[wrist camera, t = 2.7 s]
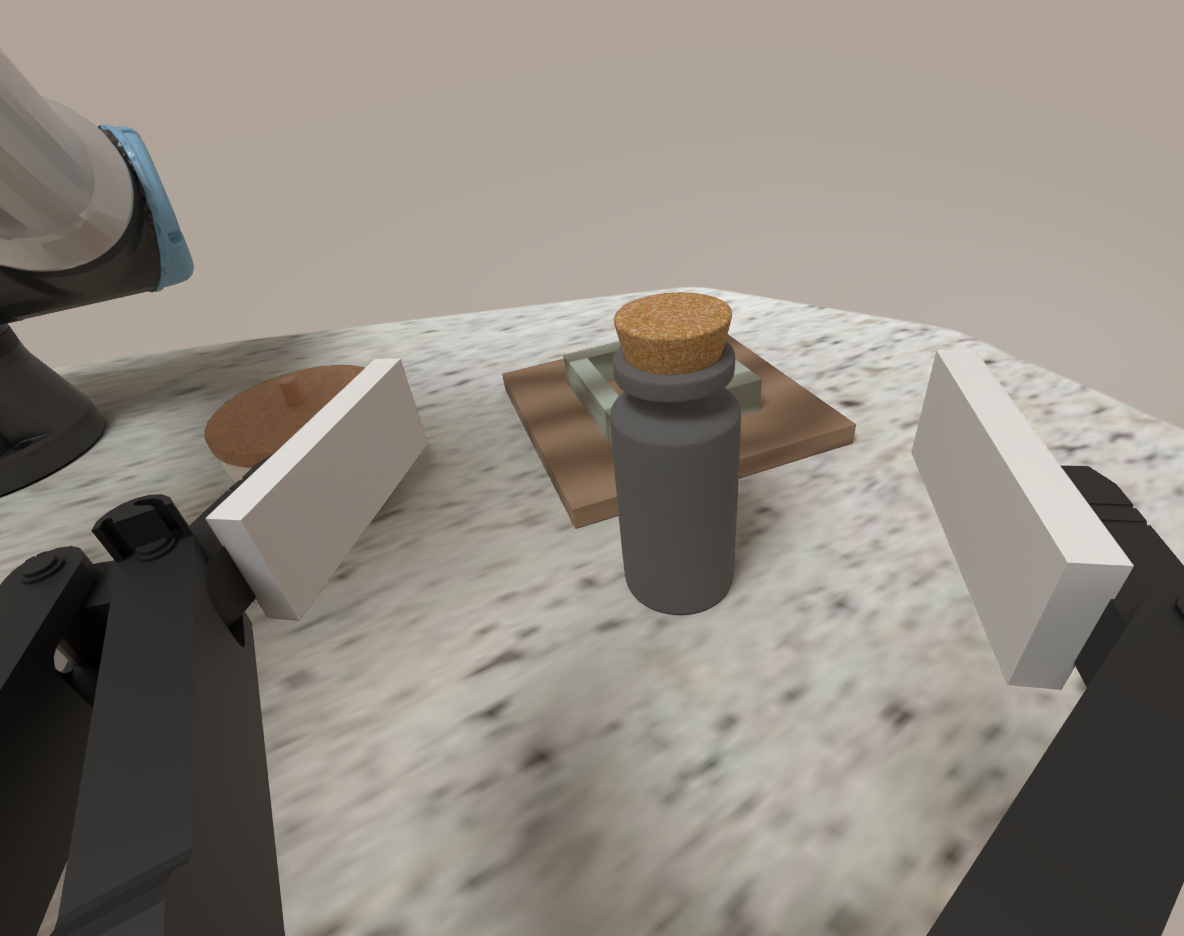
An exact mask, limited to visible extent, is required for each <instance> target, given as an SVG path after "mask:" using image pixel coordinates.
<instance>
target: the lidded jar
mask: <svg viewBox="0 0 1184 936" xmlns="http://www.w3.org/2000/svg"><path fill="white" fill-rule="evenodd" d="M364 369H365V368H364V367H359V366H351V365H331V366H321V367H315V368H309V369H304V370H300V371H295V372H292V373H288V374H285V375H282V376H279V377H276V378H273V379H270V380H268V381H265V382H263V383H260V384H258V385H256V386H254V387H252V388H250V389H248V390H246V391H244V392H242V393H241V394H239V395H237V396H235V397H234V398H232V399H231V400H229V401H228V402H226V403H225V404H224V405H223V406H222V407H220V408H219V409H218V410H217V411H216V412H215V413H214V414H213V415H212V417H211V418H210V420H209V421H208V423H207V426H206V428H205V440H206V442H207V444H208V446H209V448H210V450H211V451H212V453H213V454H214V455H215V456H216V457H217V458H218V459H219V461H220V462H221V464H222V466H223V468H224V469H225V471H226V472H227V474H228V476H229V477H230V479H231V480H232V481H233V483H234V484H235V483H236V482H237V481H238V480H242V477H243V476H244V475H245V474H246V473H247V472H248V471H249V470H250V469H251V468H252V467H253V466H254V465H256V464H257V463H258V462H260V461H261V460H263V459H265V458H266V457H268V456H270V455H272V454H273V453H275V452H277V451H278V450H279V449H280V448H281V447H282V446H283V445H284V444H285V443H286V442H287V441H288V440H289V439H290V438H291V437H293V436H294V435H295V434H296V433H297V432H298V431H299V430H300V429H301V428H302V427H303V426H304V425H305V424H306V423H307V422H308V421H310V420H311V419H312V418H313V417H314V416H315V415H316V414H317V413H318V412H319V411H320V410H321V409H322V408H323V407H324V406H325V405H327V404H328V403H329V402H330V401H331V400H332V399H333V398H334V397H335V396H336V395H337V394H338V393H339V392H340V391H341V390H343V389H344V388H345V387H346V386H347V385H348V384H349V383H350V382H351V381H352V380H353V379H354V378H355V377H356V376H357V375H358V374H360V373H361V372H362V371H363V370H364Z"/></svg>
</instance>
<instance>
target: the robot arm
mask: <svg viewBox="0 0 1184 936" xmlns="http://www.w3.org/2000/svg"><path fill="white" fill-rule="evenodd" d="M193 270H194V264H193V261H192V257H191V254H190V252H189V249H188V246H187V244H186V242H185V239H184V237H183V234H182V232H181V230H180V227H179V224H178V222H177V218H176V216H175V213H174V211H173V208H172V206H171V204H170V201H169V199H168V196H167V194H166V192H165V189H164V187H163V185H162V182H161V180H160V178H159V175H158V173H157V170H156V168H155V166H154V164H153V161H152V159H151V157H150V154H149V152H148V150H147V148H146V146H145V144H144V142H143V141H142V139H141V137H140V135H139V134H138V133H137V132H136V131H135V130H134V129H132V128H129V127H126V126H119V127H113V126H111V125H108V124H104V125H100V126H98V127H96V126H95V125H94V124H93V123H92V122H90V121H89V120H87V119H86V118H85V117H83V116H81V115H80V114H78V113H76V112H75V111H74V110H72V109H70V108H68V107H66V106H64V105H62V104H60V103H58V102H56V101H53V100H50V99H48V98H45V97H42V96H41V95H40V94H39V93H38V92H37V91H36V90H35V88H34V87H33V86H32V85H31V84H30V83H29V81H28V80H27V79H26V78H25V77H24V76H23V74H22V73H21V72H20V71H19V70H18V69H17V68H16V66H15V65H14V64H13V63H12V62H11V61H10V59H9V58H8V57H7V56H6V55H5V54H4V53H3V51H2V50H1V49H0V495H2V494H5V493H7V492H10V491H12V490H15V489H17V488H20V487H22V486H24V485H26V484H29V483H31V482H33V481H35V480H37V479H39V478H41V477H43V476H45V475H47V474H49V473H51V472H53V471H54V470H56V469H58V468H60V467H61V466H63V465H65V464H66V463H68V462H69V461H71V460H73V459H74V458H75V457H77V456H78V455H80V454H81V453H82V452H84V451H85V450H86V449H87V448H89V447H90V446H91V445H92V444H93V443H94V442H95V441H96V440H97V439H98V437H99V436H100V435H101V433H102V431H103V429H104V426H105V422H104V419H103V418H102V416H101V415H100V413H99V412H98V410H97V409H96V407H95V406H94V404H93V403H92V402H91V400H90V399H89V398H88V397H87V396H86V395H84V394H83V393H82V392H80V391H79V390H78V389H76V388H75V387H74V386H73V385H71V384H70V383H69V382H68V381H66V380H65V379H64V378H62V377H61V376H60V375H59V374H57V373H56V372H55V371H53V370H52V369H51V368H49V367H48V366H47V365H46V364H44V363H43V362H42V361H40V360H39V359H38V358H36V357H35V356H34V355H33V354H31V353H30V352H29V351H28V350H27V349H26V348H25V347H24V346H23V344H22V343H21V342H20V340H19V339H18V338H17V336H16V335H15V333H14V332H13V330H12V329H11V327H10V326H9V325H8V323H11V322H16V321H21V320H24V319H27V318H32V317H36V316H41V315H45V314H50V313H54V312H58V311H63V310H68V309H72V308H76V307H80V306H85V305H90V304H94V303H99V302H103V301H107V300H112V299H117V298H121V297H125V296H130V295H134V294H138V293H143V292H148V291H149V292H158V291H161V290H162V289H163V288H164V287H168V286H171V285H174V284H178V283H181V282H184V281H186V280H188V279H189V278H190V277H191V275H192V273H193ZM427 444H428V443H427V440H426V437H425V434H424V431H423V428H422V424H421V421H420V418H419V415H418V412H417V409H416V406H415V402H414V399H413V396H412V393H411V390H410V387H409V383H408V380H407V377H406V374H405V371H404V368H403V365H402V361H401V359H374V360H373V361H372V362H371V363H370V364H369V365H368V366H367V367H366V368H365V369H364V370H363V371H362V372H361V373H360V374H358V375H357V376H356V377H355V378H354V379H353V380H352V381H351V382H350V383H349V384H348V385H347V386H346V387H345V388H344V389H343V390H341V391H340V392H339V393H338V394H337V395H336V396H335V397H334V398H333V399H332V400H331V401H330V402H329V403H328V404H327V405H325V406H324V407H323V408H322V409H321V410H320V411H319V412H318V413H317V414H316V415H315V416H314V417H313V418H312V419H311V420H310V421H308V422H307V423H306V424H305V425H304V426H303V427H302V428H301V429H300V430H299V431H298V432H297V433H296V434H295V435H294V436H293V437H291V438H290V439H289V440H288V441H287V442H286V443H285V444H284V445H283V446H282V447H281V448H280V449H279V450H278V451H277V452H275V453H273V454H272V455H270V456H268V457H266V458H265V459H263V460H261V461H260V462H258V463H257V464H256V465H254V466H253V467H252V468H251V469H250V470H249V471H248V472H247V473H246V474H245V475H244V476H243V477H242V480H238V481H237V482H236V483H235V484H234V485H233V486H232V487H231V488H230V491H226V492H225V493H224V494H223V495H222V496H221V497H220V498H219V499H218V500H217V501H216V502H215V503H213V504H212V505H211V506H210V507H209V508H208V509H207V510H206V511H205V512H204V513H203V514H202V515H200V516H199V517H198V518H197V519H196V520H195V521H194V522H193V523H192V524H191V525H190V526H188V524H187V523H186V521H185V520H184V518H183V517H182V515H181V514H180V512H179V511H178V509H177V508H176V506H175V504H174V503H173V501H172V500H171V498H170V497H168V496H165V495H162V494H159V495H147V496H143V497H139V498H135V499H133V500H130V501H128V502H126V503H123V504H121V505H119V506H117V507H116V508H114V509H112V510H111V511H109V512H107V513H106V514H105V515H104V516H103V517H101V518H100V519H99V520H98V521H97V522H96V523H95V525H94V527H93V529H92V530H91V531H92V532H93V533H94V535H95V536H96V537H97V538H98V540H99V541H100V542H101V543H102V545H103V546H104V547H105V549H106V550H107V551H108V552H109V554H110V555H111V556H112V557H113V559H114V560H113V561H108V562H102V563H97V564H93V563H92V562H91V561H90V560H89V558H88V557H87V556H86V555H85V553H84V552H83V551H82V550H81V549H80V548H78V547H73V546H69V547H61V548H57V549H54V550H50V551H45V552H42V553H40V554H38V555H36V557H35V556H33V557H31V558H30V559H28V560H26V561H25V562H24V563H23V564H22V565H20V566H19V567H17V568H16V569H15V570H13V571H12V572H11V573H10V574H9V575H8V576H7V577H6V578H5V579H4V581H3V582H2V583H1V585H0V936H37V933H38V931H39V928H40V926H41V923H42V921H43V918H44V916H45V913H46V911H47V909H48V906H49V904H50V901H51V899H52V896H53V894H54V891H55V889H56V886H57V884H58V881H59V879H60V877H61V874H62V872H63V869H64V867H65V864H66V862H67V867H66V873H65V879H64V885H63V891H62V897H61V903H60V909H59V915H58V920H57V923H56V926H55V929H54V931H53V932H52V934H51V935H50V936H285V931H284V923H283V913H282V904H281V894H280V885H279V876H278V866H277V857H276V847H275V838H274V828H273V819H272V809H271V800H270V791H269V781H268V772H267V762H266V753H265V743H264V734H263V725H262V715H261V706H260V696H259V687H258V677H257V668H256V658H255V649H254V640H253V630H252V623H251V621H250V619H249V617H248V616H247V614H246V613H245V610H246V609H247V608H248V607H249V605H250V604H251V603H252V602H253V601H254V599H255V598H256V600H257V602H258V603H259V605H260V606H261V608H262V609H263V611H264V613H265V614H266V616H267V617H268V618H275V619H286V620H298V621H300V619H301V618H302V616H303V615H304V614H305V612H306V611H307V609H308V608H309V607H310V605H311V604H312V603H313V601H314V600H315V598H316V597H317V596H318V594H319V593H320V592H321V590H322V589H323V587H324V586H325V585H326V583H327V582H328V581H329V579H330V578H331V576H332V575H333V574H334V572H335V571H336V570H337V568H338V567H339V565H340V564H341V563H342V561H343V560H344V558H345V557H346V556H347V554H348V553H349V552H350V550H351V549H352V547H353V546H354V545H355V543H356V542H357V541H358V539H359V538H360V536H361V535H362V534H363V532H364V531H365V530H366V528H367V527H368V525H369V524H370V523H371V521H372V520H373V518H374V517H375V516H376V514H377V513H378V512H379V510H380V509H381V507H382V506H383V505H384V503H385V502H386V501H387V499H388V498H389V496H390V495H391V494H392V492H393V491H394V490H395V488H396V487H397V485H398V484H399V483H400V481H401V480H402V479H403V477H404V476H405V474H406V473H407V472H408V470H409V469H410V467H411V466H412V465H413V463H414V462H415V461H416V459H417V458H418V456H419V455H420V454H421V452H422V451H423V450H424V448H425V447H426V445H427ZM912 455H913V457H914V460H915V462H916V465H917V467H918V469H919V472H920V474H921V477H922V479H923V482H924V484H925V486H926V489H927V491H928V494H929V496H930V499H931V501H932V503H933V506H934V508H935V511H936V513H937V516H938V518H939V520H940V523H941V525H942V528H943V530H944V532H945V535H946V537H947V540H948V542H949V545H950V547H951V549H952V552H953V554H954V557H955V559H956V562H957V564H958V566H959V569H960V571H961V574H962V576H963V579H964V581H965V583H966V586H967V588H968V591H969V593H970V596H971V598H972V600H973V603H974V605H975V608H976V610H977V612H978V615H979V617H980V620H981V622H982V625H983V627H984V629H985V632H986V634H987V637H988V639H989V642H990V644H991V646H992V649H993V651H994V654H995V656H996V659H997V661H998V663H999V666H1000V668H1001V671H1002V673H1003V676H1004V678H1005V680H1006V683H1007V685H1014V686H1025V687H1036V688H1047V689H1058V690H1062V688H1063V686H1064V685H1065V683H1066V681H1067V679H1068V678H1069V676H1070V674H1071V673H1072V671H1073V669H1074V668H1075V666H1076V668H1077V670H1078V672H1079V674H1080V675H1081V677H1082V679H1083V681H1084V683H1085V685H1086V687H1087V689H1086V690H1085V692H1084V693H1083V695H1082V696H1081V698H1080V700H1079V701H1078V703H1077V704H1076V706H1075V707H1074V709H1073V710H1072V712H1071V713H1070V715H1069V717H1068V718H1067V720H1066V721H1065V723H1064V724H1063V726H1062V727H1061V729H1060V730H1059V732H1058V733H1057V735H1056V737H1055V738H1054V740H1053V741H1052V743H1051V744H1050V746H1049V747H1048V749H1047V750H1046V752H1045V754H1044V755H1043V757H1042V758H1041V760H1040V761H1039V763H1038V764H1037V766H1036V767H1035V769H1034V770H1033V772H1032V774H1031V775H1030V777H1029V778H1028V780H1027V781H1026V783H1025V784H1024V786H1023V787H1022V789H1021V791H1020V792H1019V794H1018V795H1017V797H1016V798H1015V800H1014V801H1013V803H1012V804H1011V806H1010V808H1009V809H1008V811H1007V812H1006V814H1005V815H1004V817H1003V818H1002V820H1001V821H1000V823H999V824H998V826H997V828H996V829H995V831H994V832H993V834H992V835H991V837H990V838H989V840H988V841H987V843H986V845H985V846H984V848H983V849H982V851H981V852H980V854H979V855H978V857H977V858H976V860H975V861H974V863H973V865H972V866H971V868H970V869H969V871H968V872H967V874H966V875H965V877H964V878H963V880H962V882H961V883H960V885H959V886H958V888H957V889H956V891H955V892H954V894H953V895H952V897H951V898H950V900H949V902H948V903H947V905H946V906H945V908H944V909H943V911H942V912H941V914H940V915H939V917H938V919H937V920H936V922H935V923H934V925H933V926H932V928H931V929H930V931H929V932H928V934H927V935H926V936H1161V935H1162V932H1163V930H1164V928H1165V925H1166V923H1167V921H1168V918H1169V916H1170V914H1171V911H1172V909H1173V907H1174V904H1175V902H1176V899H1177V897H1178V895H1179V892H1180V890H1181V887H1182V885H1183V883H1184V565H1183V564H1182V563H1181V562H1180V561H1179V559H1178V558H1177V557H1176V556H1175V554H1174V553H1173V552H1172V551H1171V550H1170V548H1169V547H1168V546H1167V545H1166V544H1165V542H1164V541H1163V540H1162V539H1161V538H1160V536H1159V535H1158V534H1157V533H1156V532H1155V530H1154V529H1153V528H1152V527H1151V526H1150V525H1147V521H1146V519H1145V518H1144V517H1143V516H1142V515H1141V513H1140V512H1139V511H1138V510H1137V509H1136V508H1133V504H1132V502H1131V501H1130V500H1129V499H1128V498H1127V496H1126V495H1125V494H1124V493H1123V492H1122V490H1121V489H1120V488H1119V487H1118V486H1117V484H1115V483H1114V482H1112V481H1111V480H1109V479H1108V478H1106V477H1104V476H1103V475H1101V474H1100V473H1098V472H1097V471H1095V470H1093V469H1092V468H1090V467H1089V466H1060V465H1059V463H1058V462H1057V461H1056V459H1055V458H1054V457H1053V455H1052V454H1051V453H1050V451H1049V450H1048V448H1047V447H1046V446H1045V444H1044V443H1043V442H1042V440H1041V439H1040V438H1039V436H1038V435H1037V433H1036V432H1035V431H1034V429H1033V428H1032V427H1031V425H1030V424H1029V423H1028V421H1027V420H1026V419H1025V417H1024V416H1023V414H1022V413H1021V412H1020V410H1019V409H1018V408H1017V406H1016V405H1015V404H1014V402H1013V401H1012V399H1011V398H1010V397H1009V395H1008V394H1007V393H1006V391H1005V390H1004V389H1003V387H1002V386H1001V385H1000V383H999V382H998V380H997V379H996V378H995V376H994V375H993V374H992V372H991V371H990V370H989V368H988V367H987V365H986V364H985V363H984V361H983V360H982V359H981V357H980V356H979V355H978V353H977V352H976V350H937V351H936V355H935V359H934V363H933V367H932V371H931V375H930V379H929V383H928V388H927V392H926V396H925V400H924V404H923V408H922V412H921V416H920V420H919V424H918V428H917V432H916V436H915V440H914V444H913V448H912ZM56 648H57V649H58V650H59V651H60V652H61V653H62V654H63V656H64V657H65V658H66V659H67V660H68V662H67V664H66V666H65V667H64V669H63V670H62V672H60V671H58V670H57V669H56V668H55V662H54V655H55V652H56ZM67 859H68V861H67Z"/></svg>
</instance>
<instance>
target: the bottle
mask: <svg viewBox="0 0 1184 936" xmlns="http://www.w3.org/2000/svg"><path fill="white" fill-rule="evenodd" d="M731 318H732V311H731V308H730V307H729V305H727V304H726V303H725V302H724V301H722V300H720V299H718V298H715V297H712V296H708V295H704V294H698V293H683V292H677V293H664V294H656V295H651V296H647V297H643V298H640V299H637V300H634V301H632V302H630V303H628V304H626V305H624V306H623V307H622V308H620V309H619V310H618V311H617V312H616V314H615V316H614V324H615V328H616V331H617V334H618V338H619V341H620V344H621V347H620V348H619V349H618V350H617V351H616V353H615V355H614V358H613V370H614V378H615V382H616V383H617V385H618V386H619V388H620V389H622V390H623V391H624V392H623V393H622V394H621V395H620V396H619V397H618V398H617V399H616V400H615V402H614V403H613V405H612V408H611V411H610V425H611V439H612V450H613V462H614V472H615V482H616V493H617V503H618V513H619V523H620V533H621V543H622V553H623V562H624V570H625V578H626V582H627V585H628V587H629V589H630V591H631V592H632V594H633V595H634V596H635V597H636V598H637V599H638V600H639V601H640V602H641V603H643V604H644V605H646V606H648V607H649V608H652V609H654V610H657V611H660V612H664V613H668V614H692V613H696V612H700V611H703V610H705V609H708V608H710V607H712V606H714V605H715V604H716V603H718V602H719V601H720V600H721V599H722V598H723V597H724V596H725V595H726V593H727V592H728V590H729V588H730V585H731V581H732V574H733V563H734V548H735V532H736V513H737V494H738V476H739V457H740V434H741V409H740V404H739V402H738V400H737V399H736V397H735V396H734V395H733V394H732V393H731V392H730V391H729V390H728V389H726V388H725V387H726V386H727V385H728V384H729V383H730V382H731V380H732V379H733V377H734V372H735V352H734V349H733V348H732V346H731V345H730V344H729V343H728V342H726V337H727V334H728V330H729V326H730V322H731Z"/></svg>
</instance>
